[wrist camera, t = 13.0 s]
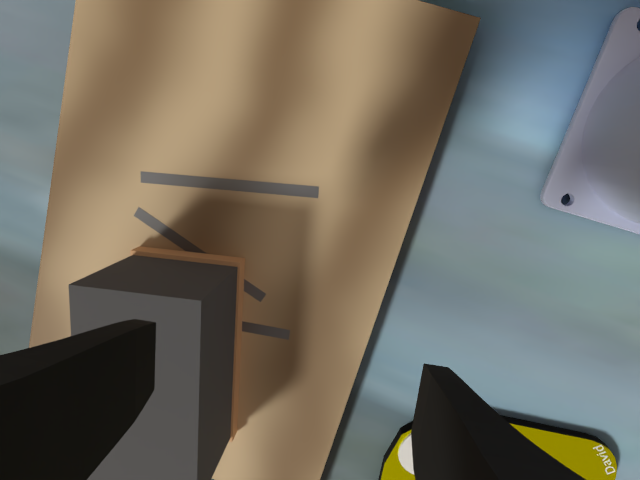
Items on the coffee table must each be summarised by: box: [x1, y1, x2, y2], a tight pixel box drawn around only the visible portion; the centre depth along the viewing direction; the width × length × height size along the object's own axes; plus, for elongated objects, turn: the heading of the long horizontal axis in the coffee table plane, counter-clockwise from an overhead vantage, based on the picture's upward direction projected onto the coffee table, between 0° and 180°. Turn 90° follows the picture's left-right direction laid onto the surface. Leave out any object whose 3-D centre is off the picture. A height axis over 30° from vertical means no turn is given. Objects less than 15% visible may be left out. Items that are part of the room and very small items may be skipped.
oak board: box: [29, 0, 481, 480], centre depth 20 cm, size 16×24×1 cm, turn 164°
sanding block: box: [69, 246, 245, 480], centre depth 18 cm, size 5×9×5 cm, turn 175°
